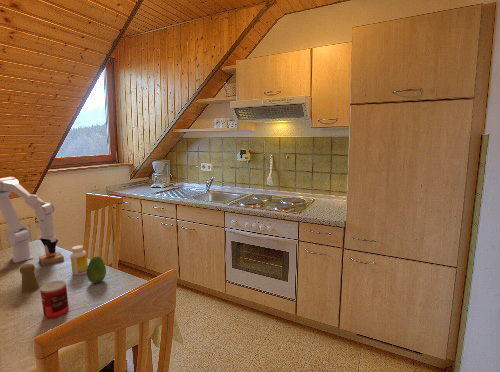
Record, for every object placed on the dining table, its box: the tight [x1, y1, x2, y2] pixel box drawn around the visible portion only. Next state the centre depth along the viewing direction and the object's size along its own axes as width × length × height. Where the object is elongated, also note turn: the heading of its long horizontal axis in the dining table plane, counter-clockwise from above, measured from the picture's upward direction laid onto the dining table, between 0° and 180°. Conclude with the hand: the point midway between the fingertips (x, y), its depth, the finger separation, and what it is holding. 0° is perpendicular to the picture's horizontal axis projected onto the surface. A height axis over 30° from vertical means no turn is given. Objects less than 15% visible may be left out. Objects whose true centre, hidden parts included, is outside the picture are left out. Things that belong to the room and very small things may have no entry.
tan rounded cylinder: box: [43, 245, 57, 256], centre depth 153 cm, size 5×5×6 cm
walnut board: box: [38, 251, 65, 267], centre depth 154 cm, size 9×9×2 cm
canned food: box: [39, 280, 70, 319], centre depth 109 cm, size 8×8×11 cm
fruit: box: [85, 256, 107, 284], centre depth 131 cm, size 8×8×12 cm
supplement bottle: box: [70, 244, 89, 276], centre depth 140 cm, size 7×7×13 cm
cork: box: [19, 263, 40, 294], centre depth 126 cm, size 6×6×11 cm
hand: (50, 251), depth 154 cm, fingers closed on tan rounded cylinder, 5 cm apart
